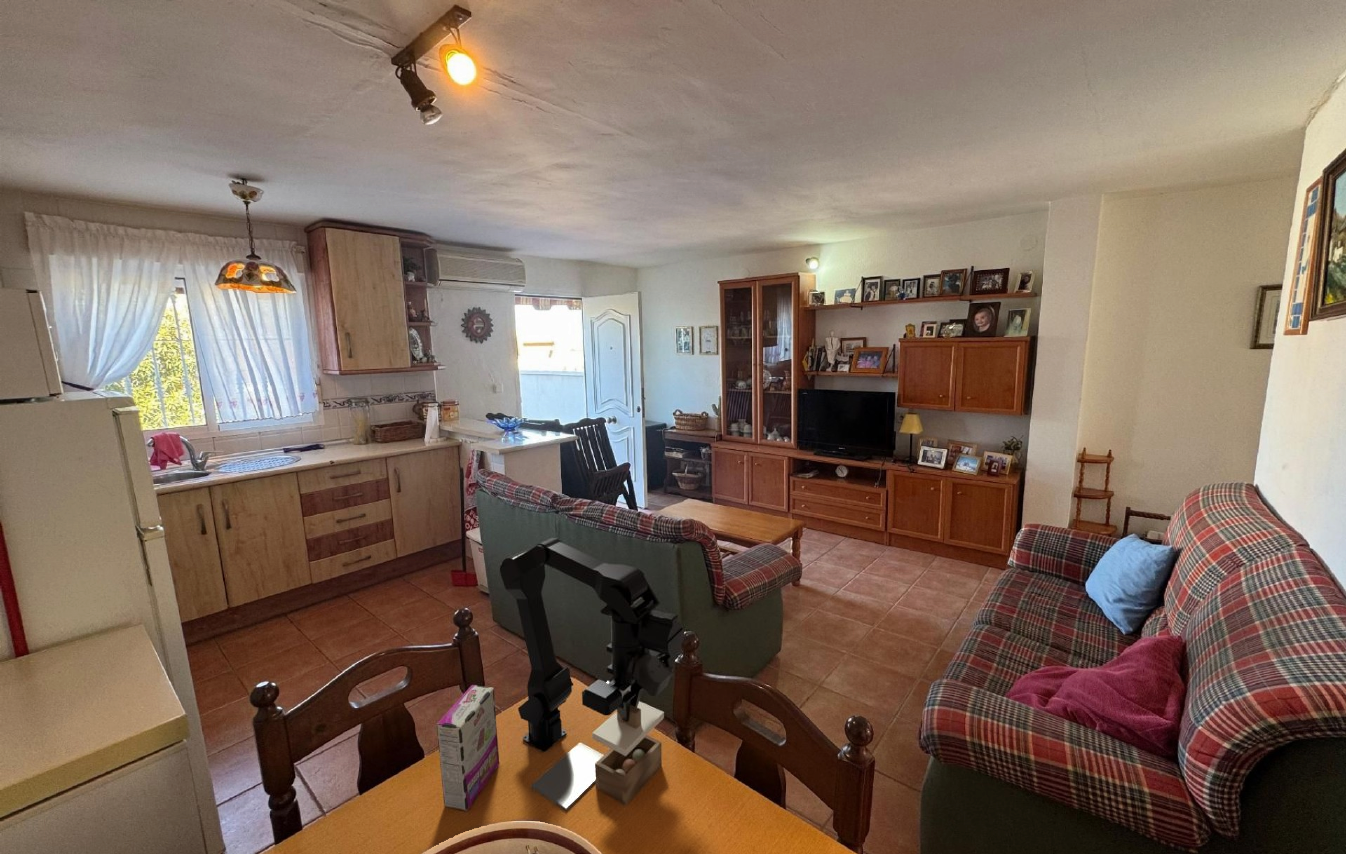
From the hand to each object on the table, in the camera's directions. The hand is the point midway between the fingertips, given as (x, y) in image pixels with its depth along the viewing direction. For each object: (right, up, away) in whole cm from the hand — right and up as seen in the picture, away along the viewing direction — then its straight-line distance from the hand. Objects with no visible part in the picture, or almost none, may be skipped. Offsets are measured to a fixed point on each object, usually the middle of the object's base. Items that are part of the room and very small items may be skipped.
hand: (628, 718), depth 99 cm
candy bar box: (-29, -13, 0) cm, 31 cm away
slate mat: (-11, -12, +2) cm, 16 cm away
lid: (0, -2, 0) cm, 2 cm away
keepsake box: (0, -12, +2) cm, 12 cm away
